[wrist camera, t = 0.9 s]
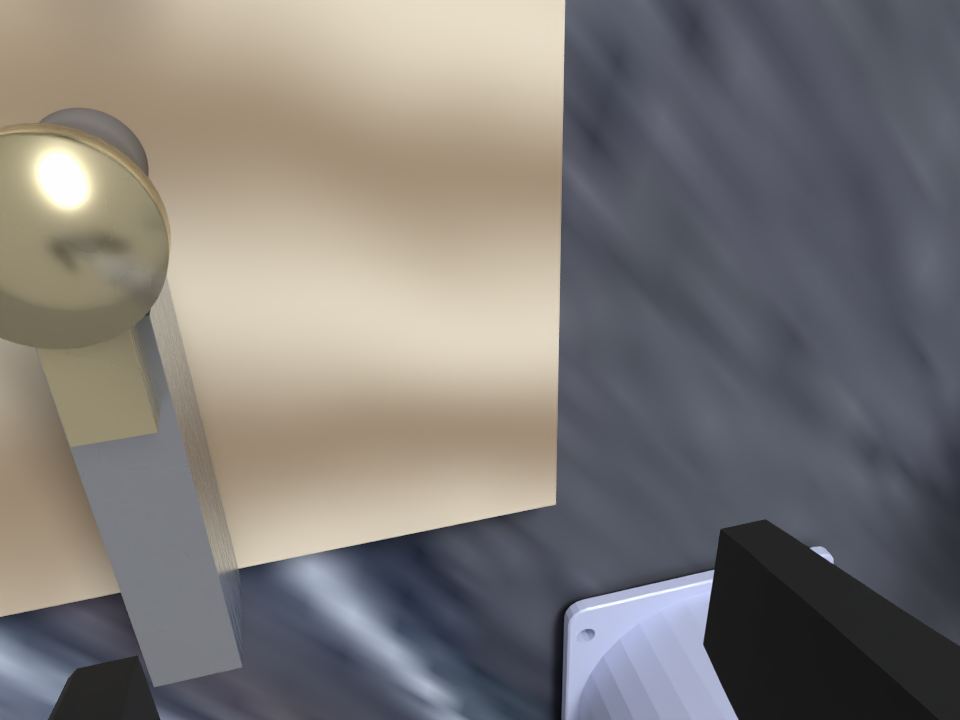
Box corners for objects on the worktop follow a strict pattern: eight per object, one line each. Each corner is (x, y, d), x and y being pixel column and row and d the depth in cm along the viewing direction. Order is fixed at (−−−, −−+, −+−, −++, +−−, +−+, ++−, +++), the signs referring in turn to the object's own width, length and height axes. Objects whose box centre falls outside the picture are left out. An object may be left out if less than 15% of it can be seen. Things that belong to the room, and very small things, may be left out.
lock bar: (-45, 86, 12) (-126, 148, 9) (158, 69, 13) (139, 123, 10) (132, 600, 17) (114, 737, 15) (269, 572, 18) (276, 699, 15)
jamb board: (544, 483, 20) (598, 586, 17) (-44, 599, 17) (-97, 743, 15) (555, -587, 11) (674, -755, 8) (-675, -684, 8) (-1164, -987, 5)
